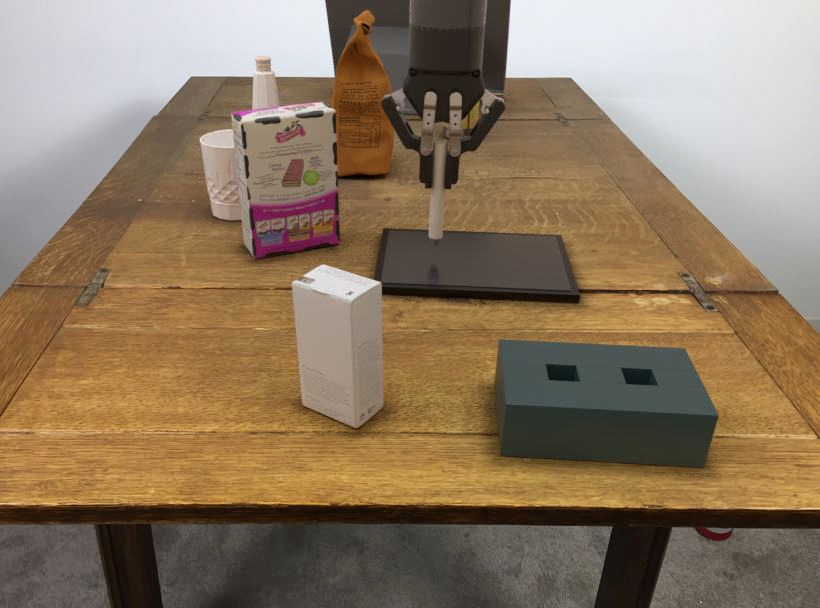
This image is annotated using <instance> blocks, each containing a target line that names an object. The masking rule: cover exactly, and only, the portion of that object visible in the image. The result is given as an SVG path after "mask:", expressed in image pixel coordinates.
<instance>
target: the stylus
mask: <svg viewBox="0 0 820 608" xmlns="http://www.w3.org/2000/svg"><path fill="white" fill-rule="evenodd" d="M432 150H433V164H432V184H431V189H430V198H429V217H428V230H429V238H431V245H432V246H438V245H439V239H441V238H442V237H443V230H444V221H445V220H444V219H445V203H446V202H445V201H446V189H445V176H446V159H447V152H448V150H449V142H448V141H447V140H446V139H445V140H444V139H434V140H432Z"/></svg>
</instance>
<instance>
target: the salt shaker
mask: <svg viewBox="0 0 820 608" xmlns="http://www.w3.org/2000/svg"><path fill="white" fill-rule="evenodd" d="M254 61H255V69H256V70H255V71H253V73H252V74H253V75H252V76H253V77H252V103H251V105H252V106H251V107H252V108H251V110H253V109H262V108H270V107H278V106H281V105H280V99H279V92H278V85H277V80H276V73H275V71H274V70H272V67H271V66H272V62H271V61H272V57H271V56H268V55H258V56H256V57H255V58H254Z"/></svg>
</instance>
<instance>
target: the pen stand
mask: <svg viewBox="0 0 820 608" xmlns="http://www.w3.org/2000/svg"><path fill="white" fill-rule="evenodd" d="M497 344H498V345H497V354H496V363H495V373H494V381H493V382H494V384H493V391H494V405H495V413H496V425H497V436H498V437H497V438H498V447H499V448H498V449H499V456H500V457H515V458H532V459H533V458H534V459H548V460H563V461H564V460H565V461H583V462H600V463H602V462H603V463H618V464H634V465H635V464H637V465H649V466H650V465H652V466H668V467H685V468H686V467H687V468H705V466H706V462H707V458H708V454H709V452H710V448H711V445H712V441H713V437H714V434H715V430H716V427H717V424H718V420H719V416H720V415H719V413H718V411H717V409H716V407H715V405H714V403H713V401H712V398H711V397H710V394H709V393H708V390H707V389H706V386H705V385H704V382H703V381H702V379H701V376H700V374H699V372H698V371H697V369H696V367H695V365H694V363H693V361H692V359H691V357H690V355H689V353H688V351H687V349H686V348H685V347H671V346H670V347H669V346H668V347H667V346H649V345H648V346H647V345H646V346H645V345H629V344H627V345H626V344H607V343H606V344H605V343H587V342H586V343H583V342H566V341H565V342H563V341H543V340H541V341H539V340H524V339H523V340H521V339H505V338H503V339H501V338H500V339H498V343H497Z"/></svg>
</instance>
